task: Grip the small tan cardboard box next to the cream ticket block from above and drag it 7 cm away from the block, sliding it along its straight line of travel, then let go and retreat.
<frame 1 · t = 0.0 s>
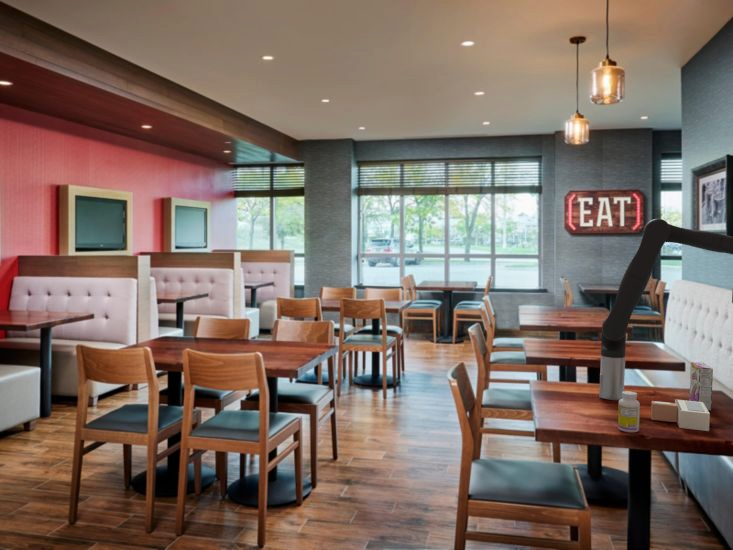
tan cardboard box: (663, 411, 218), point 3 cm above the table, slide at 0.0 cm
ticket block: (691, 422, 215), on the table
supplement bottle: (628, 430, 206), on the table
candy bar box: (699, 406, 237), on the table
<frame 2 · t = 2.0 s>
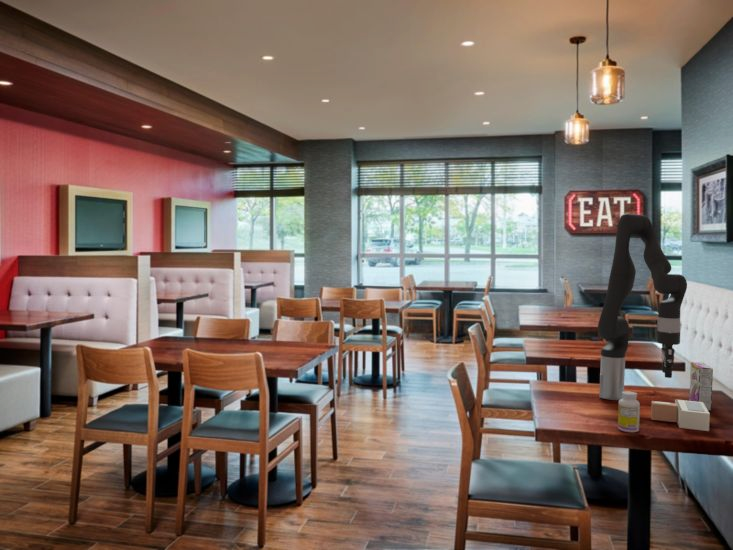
hand: (666, 375, 218), 16 cm above the table, tool pointing down, fingers open, 8 cm apart
nothing on the table moved.
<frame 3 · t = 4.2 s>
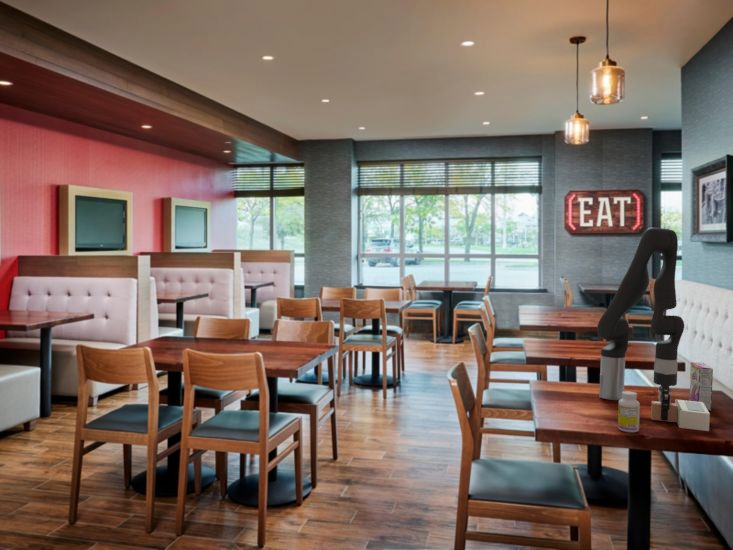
hand: (663, 417, 218), 1 cm above the table, tool pointing down, fingers closed on tan cardboard box, 4 cm apart
tan cardboard box: (663, 411, 218), point 3 cm above the table, slide at 0.0 cm, touching gripper
everything else where it was.
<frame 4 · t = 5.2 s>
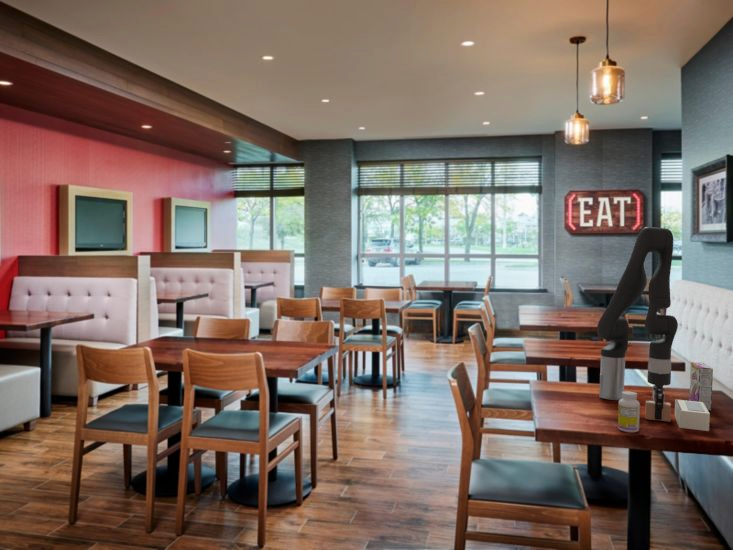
hand: (657, 417, 219), 1 cm above the table, tool pointing down, fingers closed on tan cardboard box, 4 cm apart
tan cardboard box: (657, 410, 219), point 3 cm above the table, slide at 2.0 cm, touching gripper
everything else where it was.
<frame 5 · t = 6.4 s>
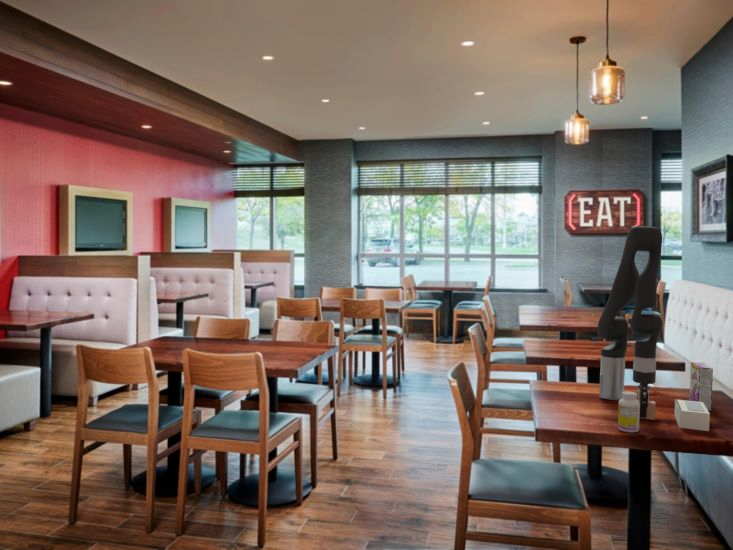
hand: (642, 415, 221), 1 cm above the table, tool pointing down, fingers closed on tan cardboard box, 4 cm apart
tan cardboard box: (642, 408, 221), point 3 cm above the table, slide at 6.9 cm, touching gripper
everything else where it was.
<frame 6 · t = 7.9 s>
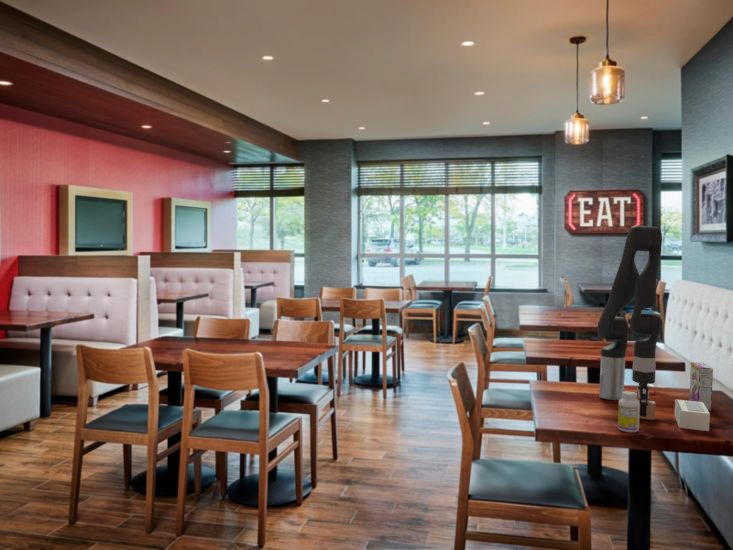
hand: (642, 413, 221), 2 cm above the table, tool pointing down, fingers open, 8 cm apart
tan cardboard box: (642, 408, 221), point 3 cm above the table, slide at 7.0 cm
everything else where it was.
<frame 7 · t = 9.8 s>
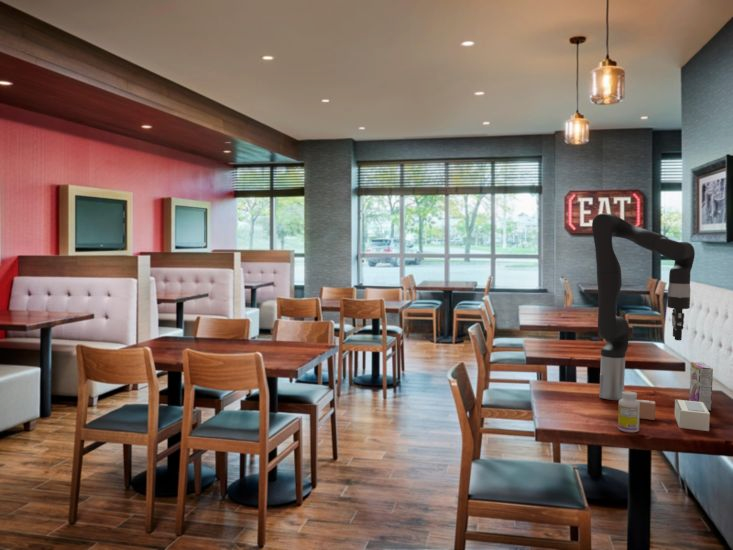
hand: (676, 338, 228), 28 cm above the table, tool pointing down, fingers open, 8 cm apart
nothing on the table moved.
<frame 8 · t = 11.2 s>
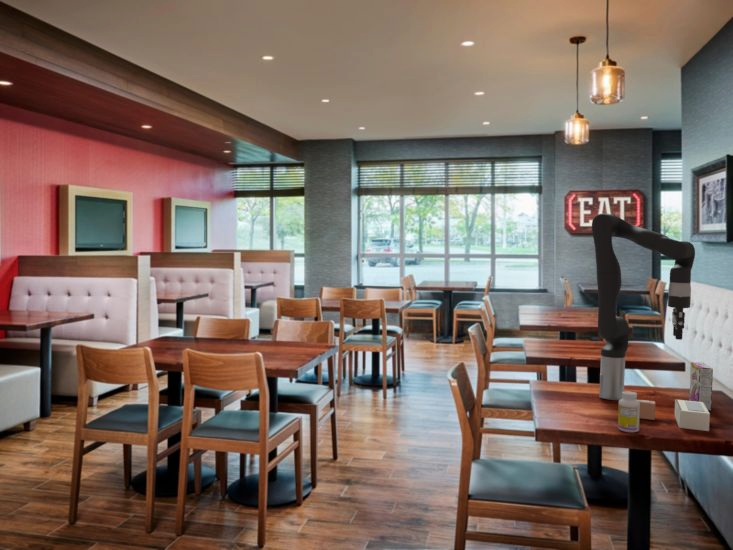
hand: (677, 337, 228), 28 cm above the table, tool pointing down, fingers open, 8 cm apart
nothing on the table moved.
at the end: tan cardboard box slide at 7.0 cm; the gripper is holding nothing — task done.
